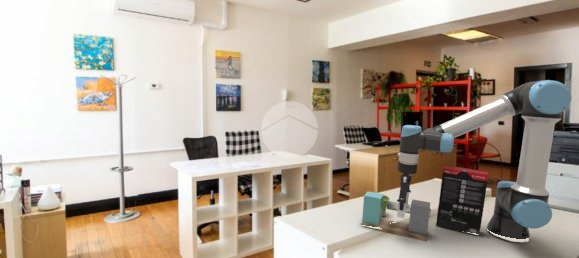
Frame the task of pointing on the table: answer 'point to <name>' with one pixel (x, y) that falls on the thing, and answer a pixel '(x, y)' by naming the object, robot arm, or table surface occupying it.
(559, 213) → the table surface
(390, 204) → the steel tube
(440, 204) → the graphics card box
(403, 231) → the walnut board
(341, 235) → the table surface
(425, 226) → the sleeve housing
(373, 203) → the teal socket block
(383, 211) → the plant pot
